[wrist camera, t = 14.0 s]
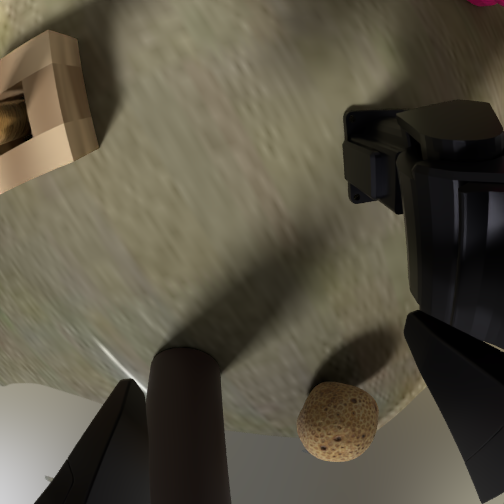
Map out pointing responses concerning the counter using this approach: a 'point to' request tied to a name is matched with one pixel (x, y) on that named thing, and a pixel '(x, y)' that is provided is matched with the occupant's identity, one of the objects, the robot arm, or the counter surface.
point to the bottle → (186, 430)
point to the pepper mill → (486, 2)
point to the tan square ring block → (46, 108)
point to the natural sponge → (337, 421)
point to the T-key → (13, 121)
